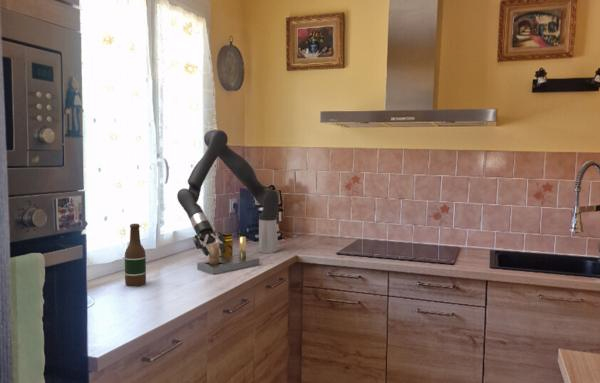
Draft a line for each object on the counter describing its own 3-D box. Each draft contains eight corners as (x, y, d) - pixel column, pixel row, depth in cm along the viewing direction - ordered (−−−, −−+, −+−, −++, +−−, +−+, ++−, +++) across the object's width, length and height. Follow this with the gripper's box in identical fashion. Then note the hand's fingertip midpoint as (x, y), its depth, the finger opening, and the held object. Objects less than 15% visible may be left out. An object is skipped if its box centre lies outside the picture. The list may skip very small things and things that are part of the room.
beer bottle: (145, 286, 183) (144, 225, 182) (124, 287, 181) (123, 225, 179) (146, 281, 191) (145, 222, 189) (125, 282, 189) (124, 222, 187)
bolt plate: (242, 260, 229) (243, 234, 228) (259, 264, 221) (259, 237, 220) (197, 269, 211) (197, 240, 210) (212, 274, 203) (212, 244, 202)
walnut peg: (215, 268, 213) (215, 242, 212) (221, 270, 210) (221, 243, 209) (207, 270, 210) (207, 243, 209) (213, 271, 207) (213, 244, 206)
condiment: (235, 257, 236) (235, 234, 235) (219, 259, 231) (219, 235, 230) (229, 255, 242) (229, 231, 241) (213, 256, 237) (213, 233, 236)
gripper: (191, 221, 209) (206, 250, 202) (217, 218, 219) (232, 246, 212) (184, 231, 213) (199, 261, 206) (211, 228, 223) (225, 256, 216)
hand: (216, 253), depth 209 cm, fingers open, 8 cm apart
